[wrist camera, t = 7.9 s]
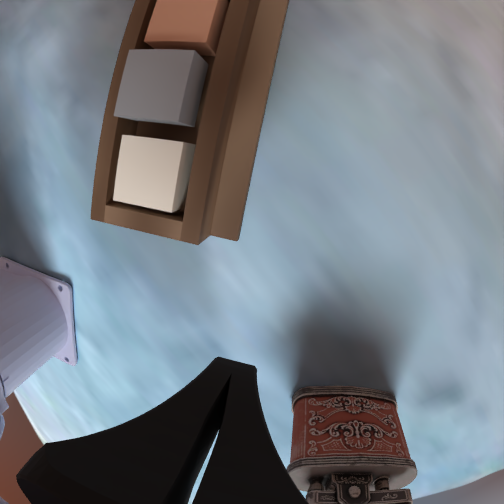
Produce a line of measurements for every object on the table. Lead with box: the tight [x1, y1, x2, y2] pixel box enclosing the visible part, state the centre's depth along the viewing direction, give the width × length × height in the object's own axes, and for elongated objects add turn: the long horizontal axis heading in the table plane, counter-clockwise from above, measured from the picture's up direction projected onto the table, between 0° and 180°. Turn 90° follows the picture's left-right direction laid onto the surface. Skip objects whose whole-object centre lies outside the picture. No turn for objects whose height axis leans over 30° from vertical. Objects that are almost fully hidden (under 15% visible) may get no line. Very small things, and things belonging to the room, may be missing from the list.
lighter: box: [287, 386, 417, 504], centre depth 16 cm, size 8×3×10 cm, turn 84°
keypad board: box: [91, 0, 289, 245], centre depth 16 cm, size 10×15×3 cm, turn 169°
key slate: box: [114, 49, 209, 127], centre depth 14 cm, size 4×4×2 cm
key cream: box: [113, 135, 196, 213], centre depth 17 cm, size 4×4×2 cm
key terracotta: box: [144, 0, 230, 56], centre depth 14 cm, size 4×4×2 cm
